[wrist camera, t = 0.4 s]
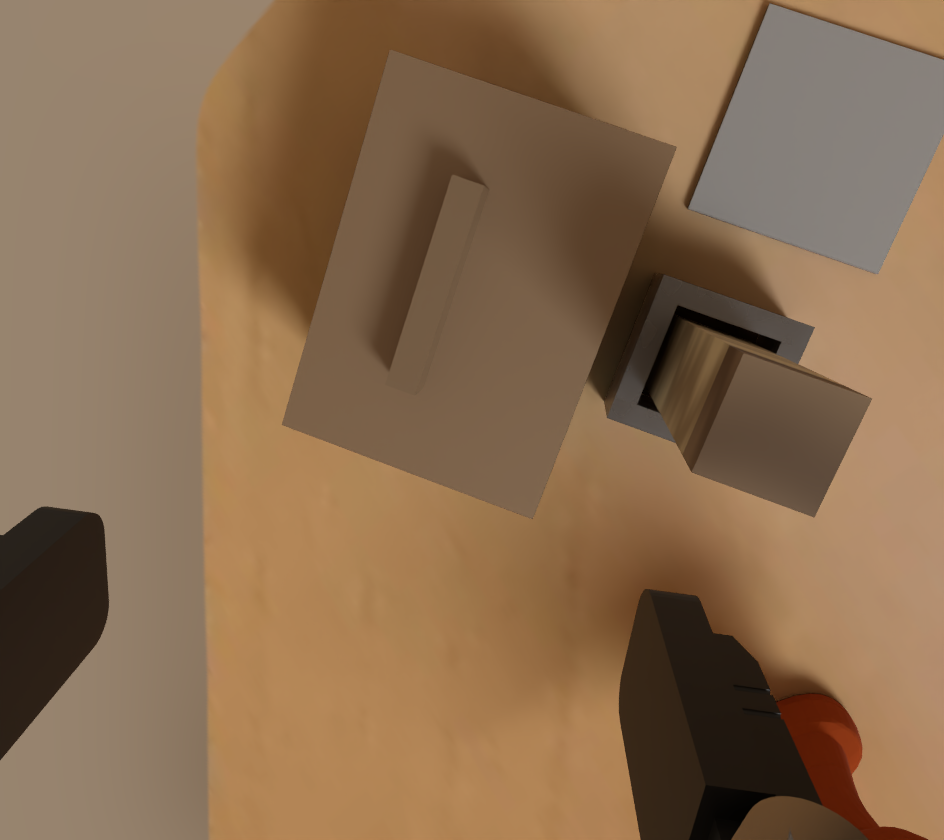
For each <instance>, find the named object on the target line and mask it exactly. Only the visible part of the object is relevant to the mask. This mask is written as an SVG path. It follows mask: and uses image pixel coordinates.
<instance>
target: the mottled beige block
mask: <svg viewBox="0 0 944 840" xmlns="http://www.w3.org/2000/svg"><path fill="white" fill-rule="evenodd" d="M645 386H646V388H647V390H648V392H649V394H650V395H651V397H652V399H653V401H654V403H655V405H656V407H657V408H658V410H659V412H660V414H661V416H662V418H663V420H664V422H665V423H666V425H667V427H668V429H669V431H670V433H671V435H672V437H673V438H674V440H675V442H676V444H677V446H678V448H679V450H680V451H681V453H682V455H683V457H684V459H685V461H686V463H687V465H688V466H689V468H690V470H691V472H692V473H695V474H698V475H700V476H703V477H706V478H708V479H711V480H714V481H717V482H719V483H722V484H725V485H727V486H730V487H733V488H736V489H738V490H741V491H744V492H747V493H749V494H752V495H755V496H757V497H760V498H763V499H766V500H768V501H771V502H774V503H776V504H779V505H782V506H785V507H787V508H790V509H793V510H795V511H798V512H801V513H804V514H806V515H809V516H812V517H815V515H816V513H817V511H818V509H819V507H820V505H821V503H822V501H823V499H824V497H825V494H826V492H827V490H828V488H829V486H830V484H831V482H832V480H833V478H834V476H835V474H836V472H837V470H838V468H839V466H840V464H841V462H842V460H843V458H844V456H845V453H846V451H847V449H848V447H849V445H850V443H851V441H852V439H853V437H854V435H855V433H856V431H857V429H858V427H859V425H860V423H861V421H862V419H863V417H864V415H865V412H866V410H867V408H868V406H869V404H870V402H871V400H872V399H871V398H869V397H867V396H865V395H863V394H861V393H859V392H856V391H854V390H852V389H850V388H848V387H846V386H844V385H841V384H839V383H837V382H835V381H833V380H831V379H829V378H826V377H824V376H822V375H820V374H818V373H816V372H814V371H811V370H809V369H807V368H805V367H803V366H801V365H799V364H796V363H794V362H792V361H790V360H788V359H786V358H784V357H781V356H779V355H777V354H775V353H773V352H771V351H769V350H766V349H764V348H762V347H760V346H758V345H756V344H754V343H751V342H749V341H747V340H745V339H742V338H739V337H736V336H734V335H731V334H728V333H725V332H722V331H720V330H717V329H714V328H711V327H708V326H705V325H703V324H700V323H697V322H694V321H691V320H689V319H686V318H683V317H680V316H677V315H673V317H672V320H671V322H670V325H669V327H668V330H667V332H666V334H665V337H664V339H663V342H662V344H661V347H660V349H659V352H658V354H657V357H656V359H655V361H654V364H653V366H652V369H651V371H650V374H649V376H648V379H647V381H646V384H645Z"/></svg>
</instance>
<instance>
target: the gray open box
mask: <svg viewBox="0 0 944 840" xmlns="http://www.w3.org/2000/svg"><path fill="white" fill-rule="evenodd" d="M677 305H679V306H682V307H685V308H687V309H690V310H693V311H696V312H699V313H701V314H704V315H707V316H710V317H713V318H716V319H718V320H721V321H724V322H727V323H730V324H733V325H735V326H738V327H741V328H744V329H747V330H750V331H752V332H755V333H758V334H759V336H758V338H757V340H756V342H755V344H756V345H758V346H760V347H762V348H764V349H766V350H769V351H771V352H773V353H775V354H777V355H779V356H781V357H784V358H786V359H788V360H790V361H792V362H794V363H796V364H798V363H799V361H800V359H801V357H802V354H803V352H804V350H805V348H806V346H807V343H808V341H809V339H810V337H811V335H812V332H813V330H814V328H815V327H812V326H809V325H806V324H804V323H801V322H798V321H795V320H792V319H789V318H786V317H784V316H781V315H778V314H775V313H772V312H769V311H767V310H764V309H761V308H758V307H755V306H752V305H750V304H747V303H744V302H741V301H738V300H735V299H732V298H730V297H727V296H724V295H721V294H718V293H715V292H713V291H710V290H707V289H704V288H701V287H698V286H695V285H693V284H690V283H687V282H684V281H681V280H678V279H676V278H673V277H670V276H667V275H664V274H657V273H655V274H654V277H653V279H652V282H651V284H650V287H649V289H648V292H647V294H646V297H645V299H644V302H643V305H642V307H641V310H640V312H639V315H638V317H637V320H636V322H635V325H634V327H633V330H632V332H631V335H630V337H629V340H628V342H627V345H626V347H625V350H624V353H623V355H622V358H621V360H620V363H619V365H618V368H617V370H616V373H615V375H614V378H613V380H612V383H611V385H610V388H609V390H608V393H607V395H606V398H605V400H604V404H605V410H606V415H607V418H609V419H612V420H614V421H617V422H620V423H623V424H625V425H628V426H631V427H634V428H636V429H639V430H642V431H645V432H647V433H650V434H653V435H656V436H658V437H661V438H664V439H666V440H669V441H672V442H675V440H674V438H673V437H672V435H671V433H670V431H669V429H668V427H667V425H666V423H665V422H664V420H663V418H662V416H661V414H660V412H659V410H658V408H657V407H656V405H655V403H654V401H653V399H652V397H649V396H646V395H644V394H641V393H642V391H643V388H644V386H645V384H646V381H647V379H648V376H649V374H650V371H651V369H652V366H653V364H654V361H655V359H656V357H657V354H658V352H659V349H660V347H661V344H662V342H663V339H664V337H665V334H666V332H667V330H668V327H669V325H670V322H671V320H672V317H673V315H674V312H675V310H676V307H677ZM675 443H676V442H675Z"/></svg>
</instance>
